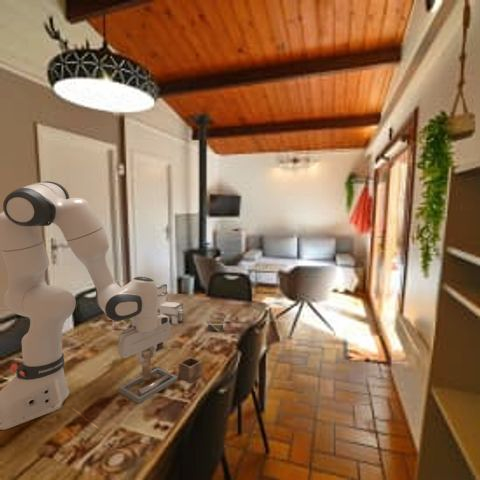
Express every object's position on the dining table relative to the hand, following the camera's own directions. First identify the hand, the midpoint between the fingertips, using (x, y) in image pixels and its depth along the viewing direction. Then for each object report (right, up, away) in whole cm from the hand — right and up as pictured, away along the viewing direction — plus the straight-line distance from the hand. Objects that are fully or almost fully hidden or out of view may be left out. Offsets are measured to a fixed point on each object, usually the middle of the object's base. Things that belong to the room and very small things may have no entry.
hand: (146, 359), depth 112 cm
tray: (+1, -10, 0) cm, 10 cm away
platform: (+21, -5, +51) cm, 56 cm away
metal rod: (+3, -10, -2) cm, 10 cm away
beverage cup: (-4, -7, +31) cm, 32 cm away
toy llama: (-6, -3, +64) cm, 64 cm away
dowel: (0, -7, +1) cm, 8 cm away
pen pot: (+15, -10, +6) cm, 19 cm away
